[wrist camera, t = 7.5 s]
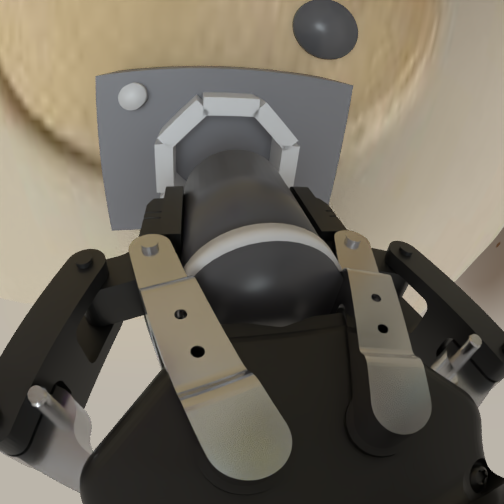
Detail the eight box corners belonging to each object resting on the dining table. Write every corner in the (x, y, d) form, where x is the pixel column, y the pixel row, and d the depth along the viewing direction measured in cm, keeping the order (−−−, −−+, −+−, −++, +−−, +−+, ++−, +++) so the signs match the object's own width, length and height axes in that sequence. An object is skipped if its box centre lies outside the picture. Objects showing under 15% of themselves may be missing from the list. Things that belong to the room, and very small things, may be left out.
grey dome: (356, 9, 17) (360, 9, 17) (349, 64, 21) (353, 65, 20) (294, -6, 16) (297, -8, 15) (287, 52, 19) (290, 52, 19)
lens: (292, 149, 12) (375, 247, 7) (277, 239, 15) (325, 357, 9) (180, 147, 11) (167, 254, 6) (182, 241, 14) (184, 372, 9)
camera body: (319, 76, 21) (372, 91, 14) (300, 191, 27) (335, 244, 21) (119, 70, 18) (80, 80, 11) (126, 193, 24) (104, 251, 18)
